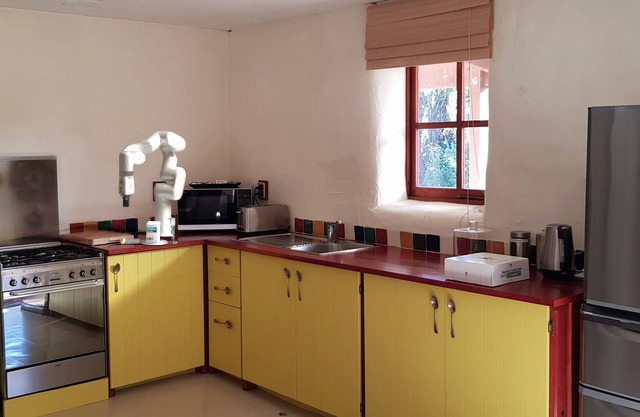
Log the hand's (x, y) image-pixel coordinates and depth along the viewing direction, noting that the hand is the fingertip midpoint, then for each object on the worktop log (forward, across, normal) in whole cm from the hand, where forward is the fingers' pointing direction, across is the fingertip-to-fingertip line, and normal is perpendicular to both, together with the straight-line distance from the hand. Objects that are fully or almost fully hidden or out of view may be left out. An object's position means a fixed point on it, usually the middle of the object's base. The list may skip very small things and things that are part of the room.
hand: (126, 206), depth 420 cm
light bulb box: (+20, +4, -15) cm, 25 cm away
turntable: (+20, +1, -11) cm, 23 cm away
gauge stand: (+21, +11, -24) cm, 33 cm away
